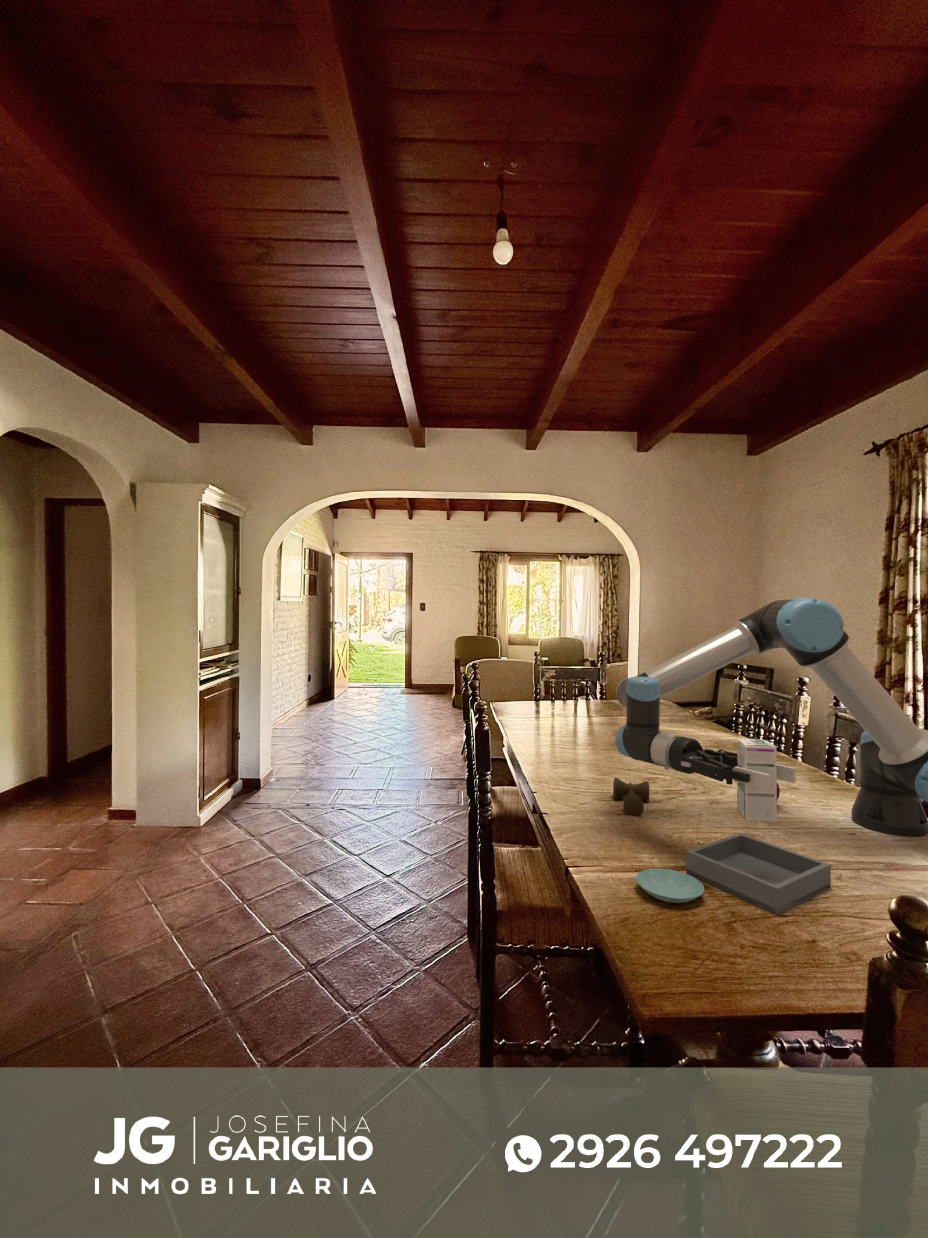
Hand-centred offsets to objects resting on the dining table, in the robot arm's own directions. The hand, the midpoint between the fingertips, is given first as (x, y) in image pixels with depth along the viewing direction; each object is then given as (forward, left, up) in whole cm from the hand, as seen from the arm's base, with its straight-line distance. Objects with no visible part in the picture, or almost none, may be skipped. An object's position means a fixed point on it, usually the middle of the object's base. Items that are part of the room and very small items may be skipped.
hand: (781, 779), depth 104 cm
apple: (-11, -51, -21) cm, 57 cm away
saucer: (+20, +6, -21) cm, 30 cm away
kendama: (+24, -44, -21) cm, 55 cm away
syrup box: (+3, -3, -9) cm, 10 cm away
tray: (+3, -3, -21) cm, 21 cm away
